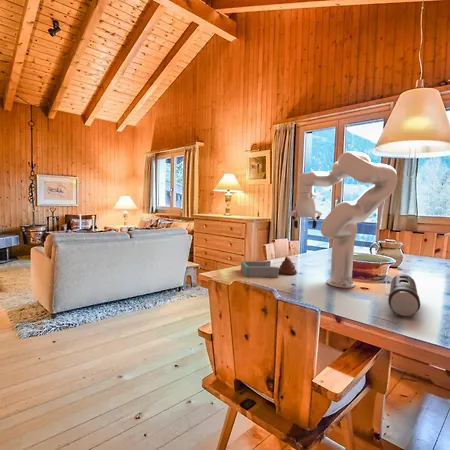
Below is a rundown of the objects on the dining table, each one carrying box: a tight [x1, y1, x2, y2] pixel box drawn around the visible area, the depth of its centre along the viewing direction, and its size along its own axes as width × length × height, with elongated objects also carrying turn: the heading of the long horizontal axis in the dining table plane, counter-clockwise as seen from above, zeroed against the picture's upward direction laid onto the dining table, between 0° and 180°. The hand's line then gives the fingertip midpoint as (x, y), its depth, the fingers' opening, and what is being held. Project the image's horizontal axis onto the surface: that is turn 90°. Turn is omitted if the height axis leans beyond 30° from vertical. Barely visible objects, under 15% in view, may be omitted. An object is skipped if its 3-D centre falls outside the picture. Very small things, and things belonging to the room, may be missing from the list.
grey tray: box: [240, 260, 280, 278], centre depth 166 cm, size 18×17×5 cm
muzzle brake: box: [387, 273, 421, 317], centre depth 118 cm, size 10×28×10 cm, turn 151°
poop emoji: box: [278, 255, 298, 276], centre depth 167 cm, size 10×8×9 cm
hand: (305, 228), depth 169 cm, fingers open, 9 cm apart
